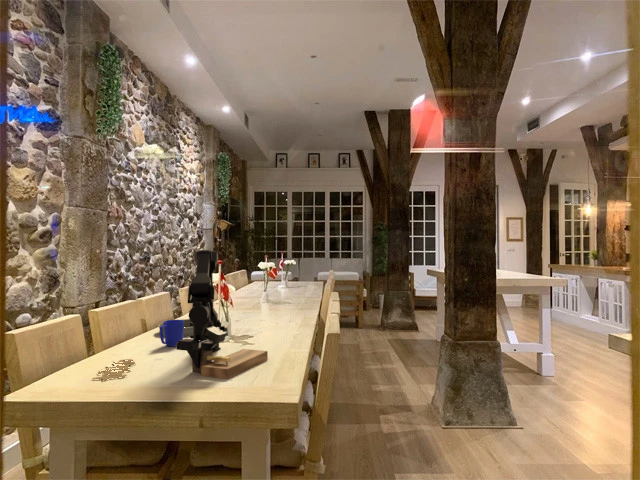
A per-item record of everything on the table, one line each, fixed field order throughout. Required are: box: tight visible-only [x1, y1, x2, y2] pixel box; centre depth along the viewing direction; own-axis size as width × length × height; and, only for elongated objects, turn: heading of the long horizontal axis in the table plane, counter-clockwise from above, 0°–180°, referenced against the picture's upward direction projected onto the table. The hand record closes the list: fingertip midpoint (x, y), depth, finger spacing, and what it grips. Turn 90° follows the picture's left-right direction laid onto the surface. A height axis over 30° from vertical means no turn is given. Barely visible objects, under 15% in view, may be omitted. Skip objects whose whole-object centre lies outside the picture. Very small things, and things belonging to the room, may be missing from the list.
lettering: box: [92, 358, 136, 381], centre depth 155 cm, size 25×10×1 cm, turn 12°
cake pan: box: [157, 318, 193, 337], centre depth 221 cm, size 25×25×4 cm
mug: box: [158, 319, 184, 347], centre depth 190 cm, size 8×12×10 cm
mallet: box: [191, 350, 230, 374], centre depth 150 cm, size 13×4×6 cm, turn 66°
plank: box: [200, 348, 269, 380], centre depth 156 cm, size 10×25×3 cm, turn 157°
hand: (202, 366), depth 152 cm, fingers closed on mallet, 4 cm apart
